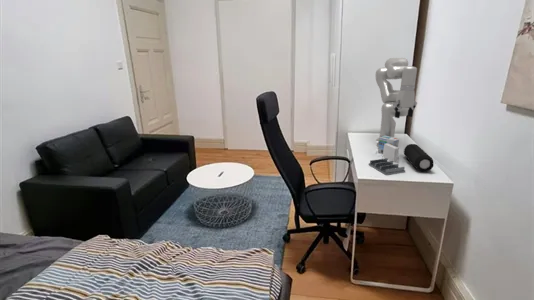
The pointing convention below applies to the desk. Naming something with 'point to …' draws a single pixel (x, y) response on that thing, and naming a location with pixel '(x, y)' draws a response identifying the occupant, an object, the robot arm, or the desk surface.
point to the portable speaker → (418, 157)
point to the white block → (390, 152)
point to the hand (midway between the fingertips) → (403, 117)
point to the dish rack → (386, 166)
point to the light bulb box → (386, 140)
